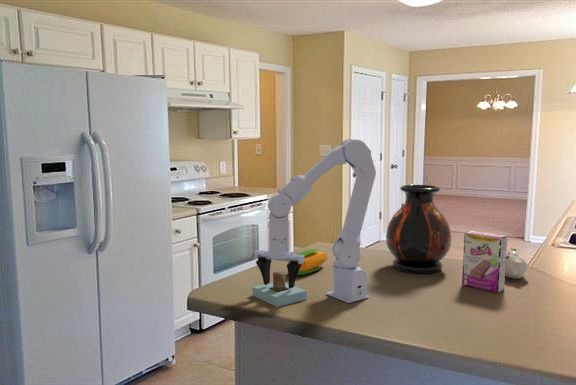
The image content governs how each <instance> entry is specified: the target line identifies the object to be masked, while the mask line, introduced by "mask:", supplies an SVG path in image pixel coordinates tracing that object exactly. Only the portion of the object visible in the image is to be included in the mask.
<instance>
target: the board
mask: <svg viewBox="0 0 576 385" xmlns="http://www.w3.org/2000/svg"><path fill="white" fill-rule="evenodd" d="M288 283H289V282H286V281H285V291H281V292H275V291H273V281H272V282H270V283H269V284H267V285H264V283H263V284H259V285H255V286H251V287H252V289H251V291H252V293H251V294H252V296H253V297H255V298H258V299H259V300H261V301H263V302H265V303H268V304H270V305H272V306H274V307H276V308H279V307H283V306H287V305H290V304H295V303H297V302H298V303H299V302H303V301H306V300H307V290H305V289H302V288H300V287H297V286H295V285H294V287H293V288H289V285H288Z"/></svg>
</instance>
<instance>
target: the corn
mask: <svg viewBox="0 0 576 385" xmlns="http://www.w3.org/2000/svg"><path fill="white" fill-rule="evenodd" d="M295 254H298V255H304V263H302V265H301V267H300V269H299V271H298V274H297V276H304V275H307V274H310V273H311V274H312V273H313V272H315V271H317V270H320V269H322V267H321V266H322V265H323V264H324V263H325V262H326V261H327V260H328V259H329V258H328V255H327V253H326V252H323V251H319V248H316V249H315V248H314V249H313V248H312V249H307V250H303V251H300V252H297V253H295ZM289 263H290V262H288V261H287V264H289Z"/></svg>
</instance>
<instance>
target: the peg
mask: <svg viewBox="0 0 576 385" xmlns="http://www.w3.org/2000/svg"><path fill="white" fill-rule="evenodd" d="M272 282H273V291H275V292H281V291H285V282H286V272H285V271H274V272H273V273H272Z"/></svg>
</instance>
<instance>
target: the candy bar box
mask: <svg viewBox="0 0 576 385" xmlns="http://www.w3.org/2000/svg"><path fill="white" fill-rule="evenodd" d="M507 246H508V235H503V234H502V235H501V234H497V233H490V232H489V233H488V232H484V231H483V232H482V231H478V230H477V231H476V230H469V231H466V232H464V239H463V255H462V256H463V258H462V259H463V260H462V261H463V262H462V274H461V275H462V277H461V285H462V286H463V287H469V288H473V289H477V290H481V291H482V290H483V291H487V292H491V293H496V294H499V293H501V292H502V291H504V290H505V283H506V281H505V279H506V276H505V266H506V254H507V248H508V247H507Z"/></svg>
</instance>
